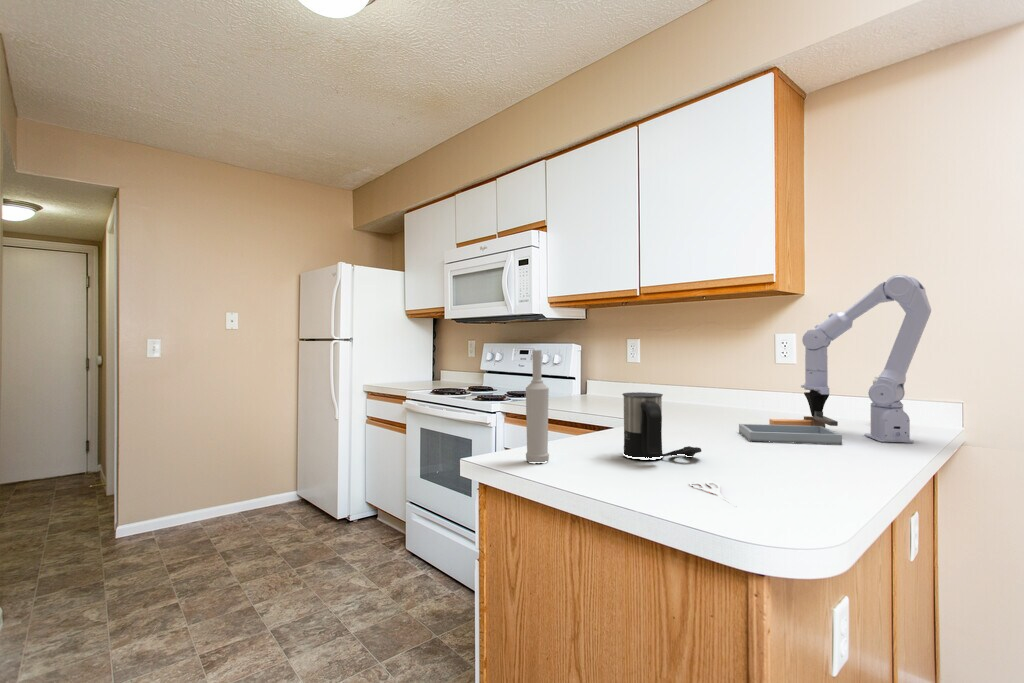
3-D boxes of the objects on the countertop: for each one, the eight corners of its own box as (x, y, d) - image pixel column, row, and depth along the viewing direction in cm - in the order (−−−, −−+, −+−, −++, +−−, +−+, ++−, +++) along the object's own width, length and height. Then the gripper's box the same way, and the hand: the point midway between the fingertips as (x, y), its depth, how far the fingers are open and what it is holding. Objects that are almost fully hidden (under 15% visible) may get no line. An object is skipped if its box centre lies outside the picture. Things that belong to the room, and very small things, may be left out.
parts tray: (842, 444, 135) (842, 435, 135) (750, 441, 139) (750, 432, 139) (821, 435, 148) (821, 426, 148) (738, 432, 153) (738, 423, 153)
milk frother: (614, 454, 125) (614, 392, 125) (669, 449, 130) (669, 389, 130) (651, 468, 111) (651, 398, 111) (710, 461, 117) (710, 395, 117)
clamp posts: (825, 432, 152) (825, 421, 152) (814, 432, 153) (814, 420, 153) (814, 427, 161) (814, 416, 161) (803, 427, 162) (803, 416, 162)
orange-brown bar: (823, 431, 155) (823, 421, 155) (773, 430, 157) (773, 420, 157) (818, 429, 159) (818, 419, 159) (769, 428, 161) (769, 419, 161)
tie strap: (837, 425, 142) (837, 417, 142) (830, 425, 143) (830, 416, 143) (821, 419, 154) (821, 411, 154) (814, 419, 154) (814, 410, 154)
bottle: (541, 465, 114) (541, 350, 114) (521, 462, 117) (521, 350, 117) (552, 460, 118) (552, 350, 118) (533, 458, 121) (532, 350, 121)
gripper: (793, 369, 163) (793, 412, 163) (810, 372, 149) (810, 419, 149) (818, 369, 162) (818, 413, 162) (837, 372, 148) (837, 420, 148)
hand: (816, 416), depth 155 cm, fingers closed
